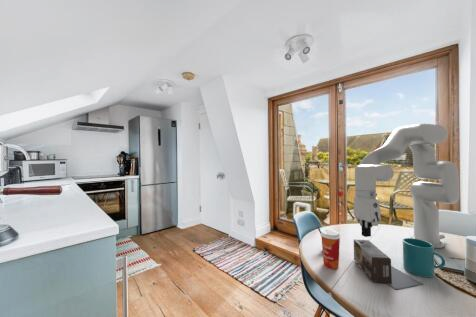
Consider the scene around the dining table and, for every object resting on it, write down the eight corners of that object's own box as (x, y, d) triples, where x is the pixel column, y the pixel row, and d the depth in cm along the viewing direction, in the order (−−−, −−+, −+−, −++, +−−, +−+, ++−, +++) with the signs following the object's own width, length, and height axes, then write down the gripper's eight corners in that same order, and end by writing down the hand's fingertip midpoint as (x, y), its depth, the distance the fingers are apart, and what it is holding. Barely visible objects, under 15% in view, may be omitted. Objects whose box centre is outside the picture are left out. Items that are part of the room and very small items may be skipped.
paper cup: (317, 261, 86) (317, 229, 86) (334, 260, 87) (333, 228, 87) (327, 271, 78) (326, 236, 78) (345, 270, 79) (344, 235, 79)
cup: (447, 284, 69) (447, 252, 69) (403, 272, 77) (402, 243, 77) (443, 272, 76) (443, 243, 76) (403, 262, 83) (402, 236, 83)
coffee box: (369, 260, 85) (392, 284, 69) (353, 259, 86) (372, 283, 70) (369, 239, 85) (392, 259, 69) (353, 238, 86) (372, 258, 70)
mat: (379, 260, 86) (379, 259, 86) (423, 284, 69) (423, 283, 69) (356, 263, 83) (356, 263, 83) (396, 289, 67) (396, 288, 67)
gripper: (389, 196, 78) (390, 242, 78) (358, 190, 93) (359, 229, 93) (373, 197, 77) (374, 244, 77) (345, 191, 91) (346, 230, 92)
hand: (366, 235), depth 85 cm, fingers closed
